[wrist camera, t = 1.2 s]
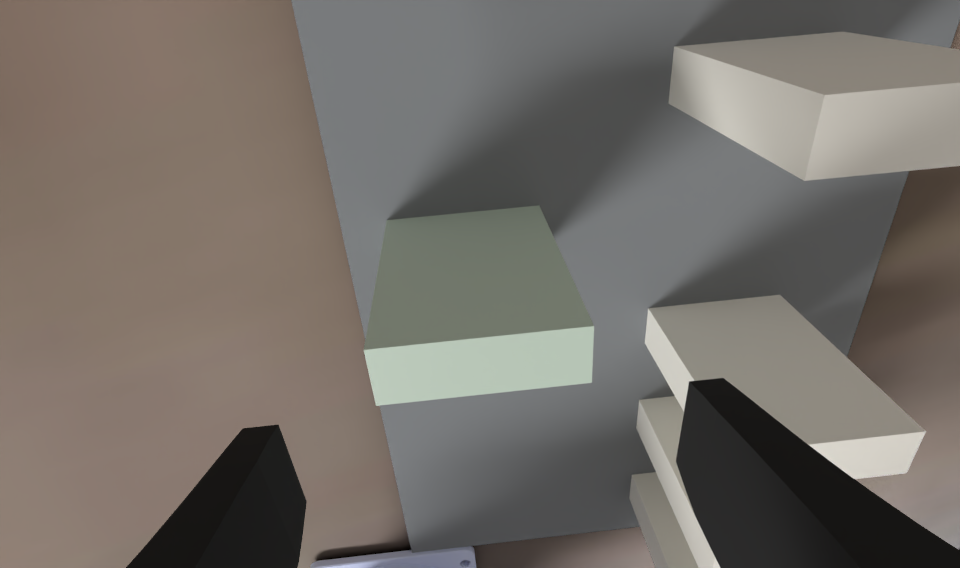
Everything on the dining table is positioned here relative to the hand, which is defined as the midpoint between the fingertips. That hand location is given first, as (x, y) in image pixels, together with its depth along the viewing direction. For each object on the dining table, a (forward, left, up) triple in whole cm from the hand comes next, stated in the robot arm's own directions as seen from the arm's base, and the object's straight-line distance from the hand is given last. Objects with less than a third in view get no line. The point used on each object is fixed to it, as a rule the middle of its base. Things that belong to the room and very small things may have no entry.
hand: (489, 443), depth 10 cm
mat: (-4, -6, -10) cm, 12 cm away
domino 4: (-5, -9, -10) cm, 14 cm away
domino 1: (0, 0, -10) cm, 10 cm away
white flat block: (+4, -9, -10) cm, 14 cm away
